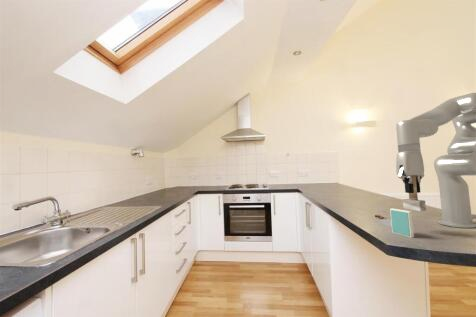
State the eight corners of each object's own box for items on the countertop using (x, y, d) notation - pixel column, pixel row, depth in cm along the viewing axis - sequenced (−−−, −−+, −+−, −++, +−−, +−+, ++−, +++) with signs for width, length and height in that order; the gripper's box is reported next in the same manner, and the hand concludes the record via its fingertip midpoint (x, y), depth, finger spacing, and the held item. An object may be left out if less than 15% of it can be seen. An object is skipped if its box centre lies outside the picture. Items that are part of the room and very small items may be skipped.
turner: (408, 208, 96) (405, 171, 97) (426, 210, 89) (422, 171, 90) (403, 208, 95) (400, 171, 96) (420, 211, 89) (416, 171, 90)
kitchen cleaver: (363, 216, 124) (381, 214, 123) (363, 217, 124) (382, 216, 123) (387, 227, 100) (411, 225, 99) (388, 230, 100) (411, 228, 99)
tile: (394, 231, 94) (392, 208, 95) (414, 237, 86) (411, 211, 87) (391, 232, 94) (389, 208, 94) (410, 237, 86) (408, 211, 87)
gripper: (414, 149, 100) (418, 190, 99) (385, 150, 96) (389, 193, 94) (432, 148, 92) (437, 192, 91) (402, 148, 88) (406, 194, 87)
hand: (412, 192), depth 93 cm, fingers closed on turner, 2 cm apart
